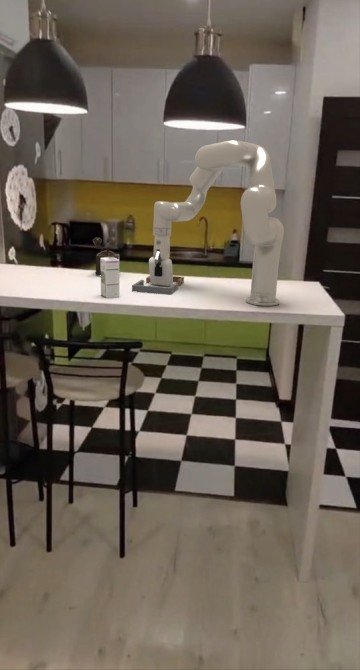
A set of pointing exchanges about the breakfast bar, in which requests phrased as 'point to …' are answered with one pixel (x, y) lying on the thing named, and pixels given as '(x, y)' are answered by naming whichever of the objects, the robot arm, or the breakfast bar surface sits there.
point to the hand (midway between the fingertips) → (160, 274)
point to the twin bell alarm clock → (102, 254)
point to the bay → (154, 288)
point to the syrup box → (109, 277)
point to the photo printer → (166, 272)
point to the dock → (175, 279)
